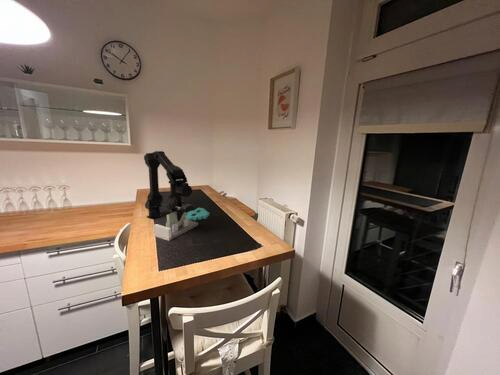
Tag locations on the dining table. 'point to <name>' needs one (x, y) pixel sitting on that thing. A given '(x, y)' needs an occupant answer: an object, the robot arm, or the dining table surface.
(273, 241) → the dining table surface
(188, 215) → the alien figure
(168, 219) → the cabinet door
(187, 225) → the hinge base
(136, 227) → the dining table surface
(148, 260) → the dining table surface
